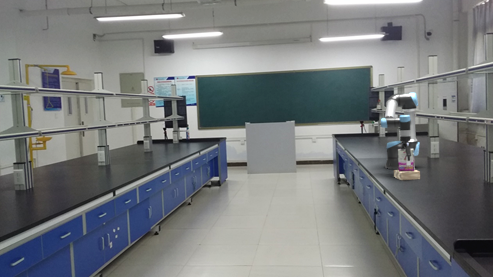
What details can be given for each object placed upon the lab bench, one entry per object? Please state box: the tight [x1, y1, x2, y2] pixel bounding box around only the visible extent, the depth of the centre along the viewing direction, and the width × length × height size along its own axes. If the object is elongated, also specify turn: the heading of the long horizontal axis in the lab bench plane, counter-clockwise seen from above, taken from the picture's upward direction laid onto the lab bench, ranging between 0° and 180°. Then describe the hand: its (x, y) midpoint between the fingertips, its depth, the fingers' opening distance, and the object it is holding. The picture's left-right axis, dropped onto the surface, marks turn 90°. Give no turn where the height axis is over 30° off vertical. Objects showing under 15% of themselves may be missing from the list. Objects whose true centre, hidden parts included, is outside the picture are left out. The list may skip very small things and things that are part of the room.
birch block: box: [393, 169, 421, 181], centre depth 314 cm, size 14×14×6 cm
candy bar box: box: [398, 149, 416, 171], centre depth 314 cm, size 11×5×16 cm, turn 65°
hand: (406, 163), depth 314 cm, fingers open, 13 cm apart
